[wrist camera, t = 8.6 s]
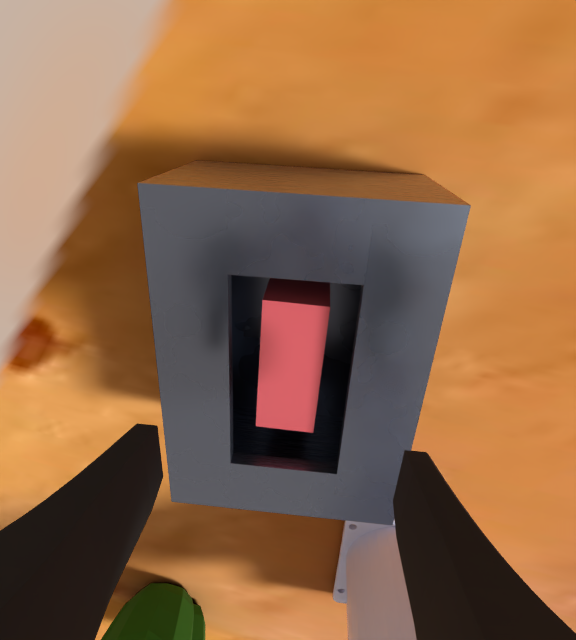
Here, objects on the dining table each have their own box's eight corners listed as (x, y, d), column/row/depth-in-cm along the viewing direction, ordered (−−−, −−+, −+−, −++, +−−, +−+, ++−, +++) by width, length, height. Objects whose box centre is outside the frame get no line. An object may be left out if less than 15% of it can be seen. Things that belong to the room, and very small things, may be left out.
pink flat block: (316, 369, 22) (313, 432, 18) (269, 363, 23) (255, 426, 18) (329, 262, 20) (330, 307, 15) (277, 257, 20) (262, 299, 15)
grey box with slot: (377, 426, 24) (392, 525, 19) (207, 410, 25) (171, 501, 19) (424, 174, 18) (470, 205, 12) (196, 160, 19) (137, 183, 13)
